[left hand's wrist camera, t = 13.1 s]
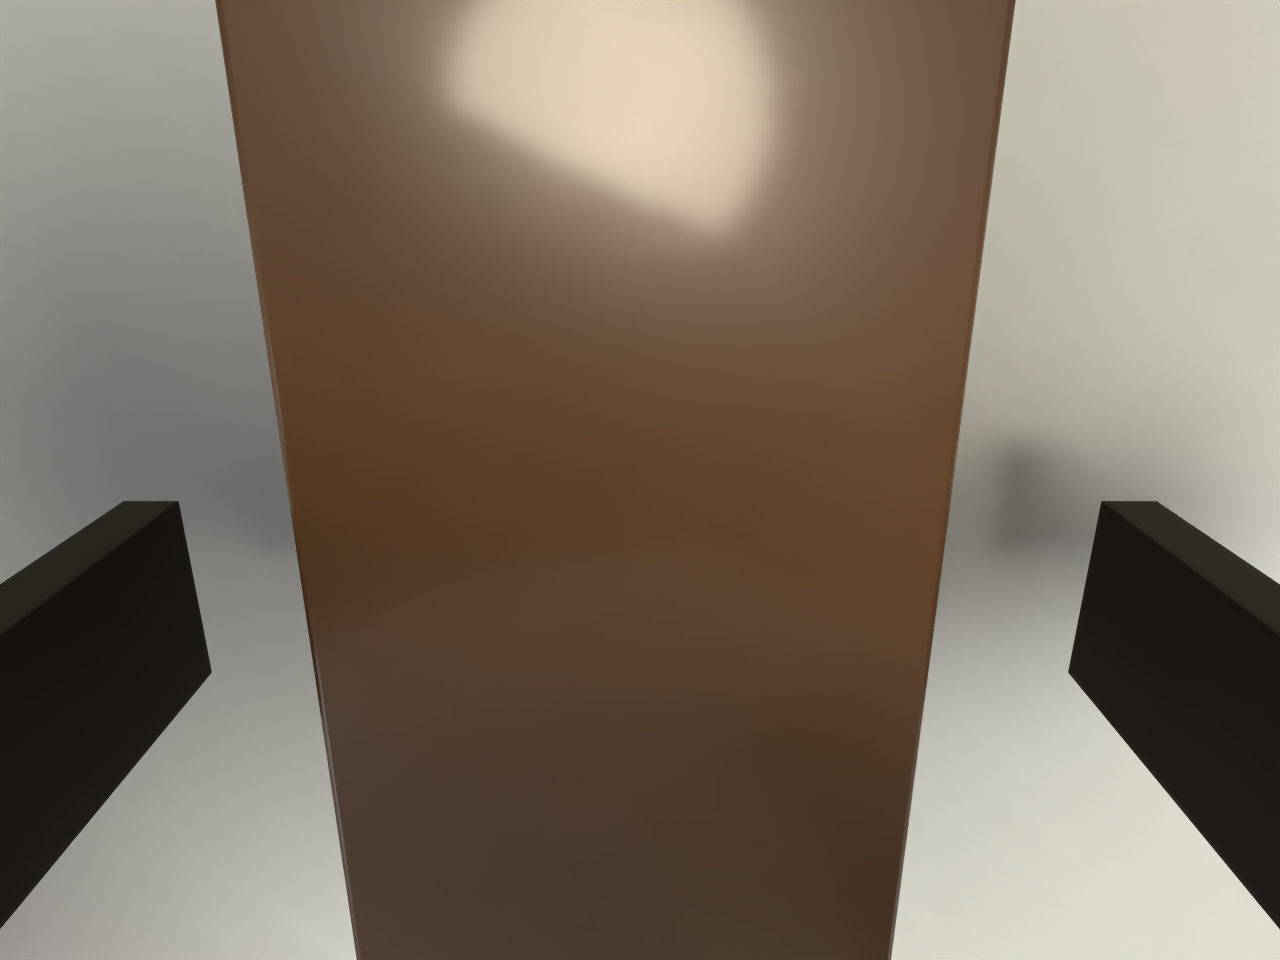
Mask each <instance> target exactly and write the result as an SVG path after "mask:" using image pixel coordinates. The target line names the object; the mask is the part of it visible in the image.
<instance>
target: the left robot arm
mask: <svg viewBox="0 0 1280 960" xmlns="http://www.w3.org/2000/svg"><path fill="white" fill-rule="evenodd" d="M211 673H212V671H211V666H210V661H209V656H208V651H207V645H206V640H205V635H204V630H203V625H202V620H201V615H200V609H199V604H198V599H197V594H196V589H195V584H194V578H193V573H192V568H191V563H190V558H189V553H188V547H187V542H186V537H185V532H184V527H183V522H182V517H181V511H180V506H179V501H123V502H122V503H120V504H119V505H117V506H116V507H114V508H113V509H111V510H110V511H108V512H107V513H105V514H104V515H102V516H101V517H99V518H98V519H96V520H95V521H93V522H92V523H91V524H89V525H88V526H86V527H85V528H83V529H82V530H80V531H79V532H77V533H76V534H74V535H73V536H71V537H70V538H68V539H67V540H65V541H64V542H62V543H61V544H59V545H58V546H56V547H55V548H53V549H52V550H51V551H49V552H48V553H46V554H45V555H43V556H42V557H40V558H39V559H37V560H36V561H34V562H33V563H31V564H30V565H28V566H27V567H25V568H24V569H22V570H21V571H19V572H18V573H16V574H15V575H13V576H12V577H10V578H9V579H8V580H6V581H5V582H3V583H2V584H0V929H1V927H2V926H3V925H4V924H5V923H6V921H7V920H8V919H9V918H10V917H11V915H12V914H13V913H14V912H15V910H16V909H17V908H18V907H19V906H20V904H21V903H22V902H23V901H24V900H25V898H26V897H27V896H28V895H29V894H30V892H31V891H32V890H33V889H34V887H35V886H36V885H37V884H38V883H39V881H40V880H41V879H42V878H43V877H44V875H45V874H46V873H47V872H48V870H49V869H50V868H51V867H52V866H53V864H54V863H55V862H56V861H57V860H58V858H59V857H60V856H61V855H62V853H63V852H64V851H65V850H66V849H67V847H68V846H69V845H70V844H71V843H72V841H73V840H74V839H75V838H76V836H77V835H78V834H79V833H80V832H81V830H82V829H83V828H84V827H85V826H86V824H87V823H88V822H89V821H90V820H91V818H92V817H93V816H94V815H95V813H96V812H97V811H98V810H99V809H100V807H101V806H102V805H103V804H104V803H105V801H106V800H107V799H108V798H109V796H110V795H111V794H112V793H113V792H114V790H115V789H116V788H117V787H118V786H119V784H120V783H121V782H122V781H123V779H124V778H125V777H126V776H127V775H128V773H129V772H130V771H131V770H132V769H133V767H134V766H135V765H136V764H137V762H138V761H139V760H140V759H141V758H142V756H143V755H144V754H145V753H146V752H147V750H148V749H149V748H150V747H151V746H152V744H153V743H154V742H155V741H156V739H157V738H158V737H159V736H160V735H161V733H162V732H163V731H164V730H165V729H166V727H167V726H168V725H169V724H170V722H171V721H172V720H173V719H174V718H175V716H176V715H177V714H178V713H179V712H180V710H181V709H182V708H183V707H184V705H185V704H186V703H187V702H188V701H189V699H190V698H191V697H192V696H193V695H194V693H195V692H196V691H197V690H198V688H199V687H200V686H201V685H202V684H203V682H204V681H205V680H206V679H207V678H208V676H209V675H210V674H211ZM1068 673H1069V674H1070V675H1071V676H1072V678H1073V679H1074V680H1075V681H1076V682H1077V684H1078V685H1079V686H1080V687H1081V689H1082V690H1083V691H1084V692H1085V693H1086V695H1087V696H1088V697H1089V698H1090V699H1091V701H1092V702H1093V703H1094V704H1095V706H1096V707H1097V708H1098V709H1099V710H1100V712H1101V713H1102V714H1103V715H1104V716H1105V718H1106V719H1107V720H1108V721H1109V722H1110V724H1111V725H1112V726H1113V727H1114V729H1115V730H1116V731H1117V732H1118V733H1119V735H1120V736H1121V737H1122V738H1123V739H1124V741H1125V742H1126V743H1127V744H1128V746H1129V747H1130V748H1131V749H1132V750H1133V752H1134V753H1135V754H1136V755H1137V756H1138V758H1139V759H1140V760H1141V761H1142V763H1143V764H1144V765H1145V766H1146V767H1147V769H1148V770H1149V771H1150V772H1151V773H1152V775H1153V776H1154V777H1155V778H1156V780H1157V781H1158V782H1159V783H1160V784H1161V786H1162V787H1163V788H1164V789H1165V790H1166V792H1167V793H1168V794H1169V795H1170V796H1171V798H1172V799H1173V800H1174V801H1175V803H1176V804H1177V805H1178V806H1179V807H1180V809H1181V810H1182V811H1183V812H1184V813H1185V815H1186V816H1187V817H1188V818H1189V820H1190V821H1191V822H1192V823H1193V824H1194V826H1195V827H1196V828H1197V829H1198V830H1199V832H1200V833H1201V834H1202V835H1203V837H1204V838H1205V839H1206V840H1207V841H1208V843H1209V844H1210V845H1211V846H1212V847H1213V849H1214V850H1215V851H1216V852H1217V854H1218V855H1219V856H1220V857H1221V858H1222V860H1223V861H1224V862H1225V863H1226V864H1227V866H1228V867H1229V868H1230V869H1231V870H1232V872H1233V873H1234V874H1235V875H1236V877H1237V878H1238V879H1239V880H1240V881H1241V883H1242V884H1243V885H1244V886H1245V887H1246V889H1247V890H1248V891H1249V892H1250V894H1251V895H1252V896H1253V897H1254V898H1255V900H1256V901H1257V902H1258V903H1259V904H1260V906H1261V907H1262V908H1263V909H1264V911H1265V912H1266V913H1267V914H1268V915H1269V917H1270V918H1271V919H1272V920H1273V921H1274V923H1275V924H1276V925H1277V926H1278V928H1279V929H1280V584H1278V583H1277V582H1275V581H1274V580H1272V579H1271V578H1269V577H1268V576H1267V575H1265V574H1264V573H1262V572H1261V571H1259V570H1258V569H1256V568H1255V567H1253V566H1252V565H1250V564H1249V563H1247V562H1246V561H1244V560H1243V559H1241V558H1240V557H1238V556H1237V555H1235V554H1234V553H1232V552H1231V551H1229V550H1228V549H1227V548H1225V547H1224V546H1222V545H1221V544H1219V543H1218V542H1216V541H1215V540H1213V539H1212V538H1210V537H1209V536H1207V535H1206V534H1204V533H1203V532H1201V531H1200V530H1198V529H1197V528H1195V527H1194V526H1192V525H1191V524H1189V523H1188V522H1186V521H1185V520H1184V519H1182V518H1181V517H1179V516H1178V515H1176V514H1175V513H1173V512H1172V511H1170V510H1169V509H1167V508H1166V507H1164V506H1163V505H1161V504H1160V503H1158V502H1157V501H1101V506H1100V511H1099V516H1098V522H1097V527H1096V532H1095V537H1094V542H1093V547H1092V552H1091V558H1090V563H1089V568H1088V573H1087V578H1086V583H1085V589H1084V594H1083V599H1082V604H1081V609H1080V614H1079V620H1078V625H1077V630H1076V635H1075V640H1074V645H1073V650H1072V656H1071V661H1070V666H1069V671H1068Z"/></svg>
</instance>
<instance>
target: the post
mask: <svg viewBox="0 0 1280 960" xmlns="http://www.w3.org/2000/svg"><path fill="white" fill-rule="evenodd" d="M215 1H216V8H217V15H218V22H219V28H220V35H221V42H222V49H223V55H224V62H225V69H226V76H227V83H228V89H229V96H230V103H231V110H232V116H233V123H234V130H235V137H236V144H237V150H238V157H239V164H240V171H241V177H242V184H243V191H244V198H245V204H246V211H247V218H248V225H249V232H250V238H251V245H252V252H253V259H254V265H255V272H256V279H257V286H258V293H259V299H260V306H261V313H262V320H263V326H264V333H265V340H266V347H267V354H268V360H269V367H270V374H271V381H272V387H273V394H274V401H275V408H276V415H277V421H278V428H279V435H280V442H281V448H282V455H283V462H284V469H285V475H286V482H287V489H288V496H289V503H290V509H291V516H292V523H293V530H294V536H295V543H296V550H297V557H298V564H299V570H300V577H301V584H302V591H303V597H304V604H305V611H306V618H307V625H308V631H309V638H310V645H311V652H312V658H313V665H314V672H315V679H316V686H317V692H318V699H319V706H320V713H321V719H322V726H323V733H324V740H325V746H326V753H327V760H328V767H329V774H330V780H331V787H332V794H333V801H334V807H335V814H336V821H337V828H338V835H339V841H340V848H341V855H342V862H343V868H344V875H345V882H346V889H347V896H348V902H349V909H350V916H351V923H352V929H353V936H354V943H355V950H356V957H357V960H891V955H892V948H893V940H894V932H895V924H896V917H897V909H898V901H899V894H900V886H901V878H902V871H903V863H904V855H905V847H906V840H907V832H908V824H909V817H910V809H911V801H912V794H913V786H914V778H915V770H916V763H917V755H918V747H919V740H920V732H921V724H922V717H923V709H924V701H925V693H926V686H927V678H928V670H929V663H930V655H931V647H932V640H933V632H934V624H935V616H936V609H937V601H938V593H939V586H940V578H941V570H942V563H943V555H944V547H945V539H946V532H947V524H948V516H949V509H950V501H951V493H952V485H953V478H954V470H955V462H956V455H957V447H958V439H959V432H960V424H961V416H962V408H963V401H964V393H965V385H966V378H967V370H968V362H969V355H970V347H971V339H972V331H973V324H974V316H975V308H976V301H977V293H978V285H979V278H980V270H981V262H982V254H983V247H984V239H985V231H986V224H987V216H988V208H989V201H990V193H991V185H992V177H993V170H994V162H995V154H996V147H997V139H998V131H999V124H1000V116H1001V108H1002V100H1003V93H1004V85H1005V77H1006V70H1007V62H1008V54H1009V47H1010V39H1011V31H1012V23H1013V16H1014V8H1015V0H215Z"/></svg>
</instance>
